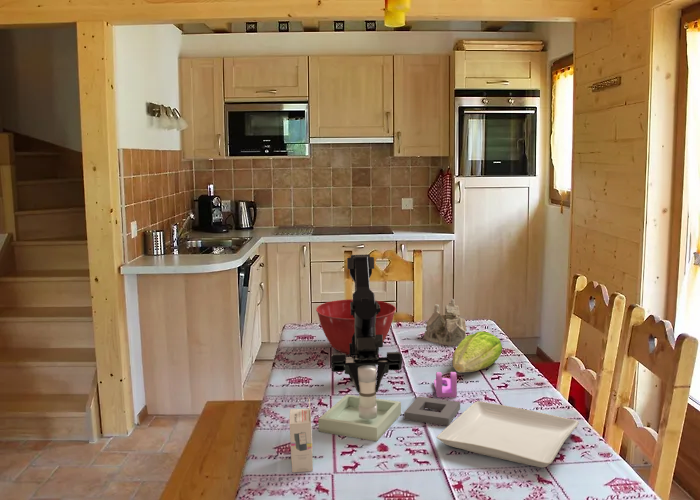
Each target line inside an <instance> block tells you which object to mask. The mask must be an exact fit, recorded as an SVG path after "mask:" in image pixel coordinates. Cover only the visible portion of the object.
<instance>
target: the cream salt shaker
mask: <svg viewBox="0 0 700 500" xmlns="http://www.w3.org/2000/svg"><path fill="white" fill-rule="evenodd" d="M358 380H359V393H358V396H359V417H360V418H361V419H366V420H370V419H374V418H376V417H377V404H376V399H377V392H376V380H377V366H376V367H375V366H371V365H363V366H360V367H358Z"/></svg>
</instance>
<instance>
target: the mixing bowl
mask: <svg viewBox="0 0 700 500" xmlns="http://www.w3.org/2000/svg"><path fill="white" fill-rule="evenodd" d="M375 301H377V302H378V304H379V305H380V312H379V314H378V315H376V324H375V331H376V335H383V343H384V342H385V341H386V338H387V337H388V334H389V332H390V329H391V327H392V323H393V319H394V316H395V312H396V311H397V307H396V306H395V305H393V304H391V303H389V302H386V301H381V300H376V299H375ZM350 302H353V298H352V299H349V298H347V299H339V300H332V301H328V302H323V303H322V304H320V305H318V306H317V307H316V308H315V310H316V313H317V315H318V319H319V323H320V326H321V328H322V331H323V333H324V336H325V338H326V339H327V341H328V343H329V344H330V346H332V348H333V349H335V350H336V351H338V352H339V353H340V354H341V353H346V355H349V356H350V348H349V343H352V336H353V334H354V333H355V318H354V317H353V315H351V309H350Z"/></svg>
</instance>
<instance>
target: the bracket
mask: <svg viewBox="0 0 700 500" xmlns="http://www.w3.org/2000/svg"><path fill="white" fill-rule="evenodd" d="M435 372H436V371H435ZM449 374H450V378H448V377H443V373H442V372H441V371H437V372H436V373H435V379H434V380H433V386H434V389H435V394H436V397H437V398H457V397H458V396H457V395H458V392H457V389H458V388H457V386H458V383H457V382H458V381H457V380H458V378H457V371H450V373H449ZM443 384H444V385H443Z"/></svg>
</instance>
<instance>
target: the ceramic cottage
mask: <svg viewBox="0 0 700 500" xmlns="http://www.w3.org/2000/svg"><path fill="white" fill-rule="evenodd" d="M425 325H426V326H425V331H424V334H423V339H424V340H426V341H427V342H432V343H436V344H439V345H444V346H448V347H455V346H457V347H458V345H459V344H460V343H461V341H462V340H463V339H464V338H466V337H467V336H468V335H467V333H466V332H467V325H466V319H465V318H462V317H460V308H459V305H456V304H455V299H454V298H451V299H450V301H449V303H448V305H445V309H444V314H441V313H440V304H434V309H433V313H432V315H431V316H430V317H429V318H428V320H427V321H425Z"/></svg>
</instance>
